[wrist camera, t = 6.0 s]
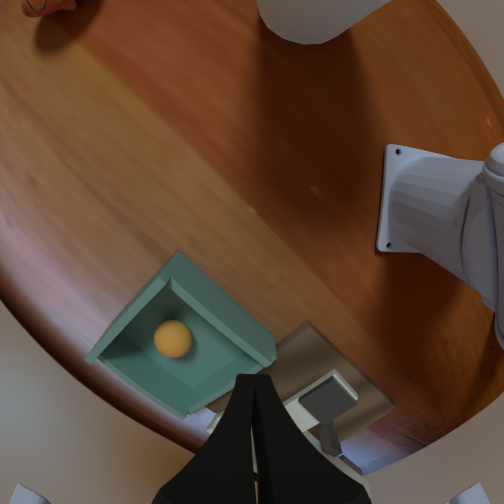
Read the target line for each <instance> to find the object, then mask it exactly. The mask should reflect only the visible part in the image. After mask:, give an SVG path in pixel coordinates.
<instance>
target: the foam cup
mask: <svg viewBox="0 0 504 504" xmlns="http://www.w3.org/2000/svg"><path fill="white" fill-rule="evenodd" d="M389 1H391V0H256V2H257V6H258V11H259V12H260V16H261V18H262V19H263V21H264V23H265V24H266V26H267V28H268V29H270V30H271V31H273V32H274V33H276V34H277V35H279V36H280V37H281V38H283V39H285V40H289V41H293V42H296V43H299V44H303V45H305V44H323V43H325V42H327V41H329V40H331V39H333V38H335V37H337V36H338V35H340V34H341V33H343V32H344V31H346V30H347V29H348V28H350V27H351V26H353V25H354V24H355V23H357V22H358V21H360V20H361V19H363V18H364V17H366V16H367V15H369V14H370V13H372V12H373V11H375V10H376V9H378V8H380V7H381V6H383V5H384V4H386V3H388V2H389Z"/></svg>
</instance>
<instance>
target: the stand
mask: <svg viewBox="0 0 504 504" xmlns="http://www.w3.org/2000/svg"><path fill="white" fill-rule="evenodd" d="M275 348H276V355H277V359H276V360H275V361H273V362H272V364H271V365H269V366H268V367H264V368H263V369H262V370H260V371H259V372H257V373H256V374H269V375H270V376H271V379H272V382H273V384H274V387H275V389H276V391H277V393H278V395H279V397H280V399H281V401H282V402H284V401H286V400H287V399H289V398H291V397H292V396H294V395H295V394H297V393H299V392H300V391H302V390H303V389H305V388H306V387H308V386H309V385H311V384H312V383H314V382H315V381H317V380H318V379H320V378H321V377H323V376H324V375H326V374H327V373H329V372H330V371H331V370H333V369H335V370H336V371H337V372H338V373H339V374H340V375H341V376H342V377H343V378H344V380H345V381H346V382H347V383H348V384H349V385H350V386H351V387H352V388H353V389H354V391H355V392H356V393H357V395H358V399H357V400H356V403H357V405H356V406H354V407H353V408H351V409H350V410H348V411H346V412H345V413H343V414H342V415H340V416H338V417H337V418H335V419H333V420H332V421H330V422H328V423H327V424H325V425H322V424H321V423H319V424H317V425H315V426H313V427H311V428H310V429H308V430H307V431H308V432H309V433H311V434H312V435H313V436H314V437H315V438H316V439H317V440H318V441H320V442H321V443H322V446H323V451H324V453H326V454H328V455H331V456H333V457H336V456H338V455H339V454H341V453H342V450H341V446H340V442H341V441H343V440H345V439H347V438H349V437H350V436H352V435H354V434H356V433H357V432H359V431H361V430H362V429H364V428H366V427H367V426H369V425H370V424H372V423H374V422H375V421H377V420H378V419H380V418H381V417H383V416H384V415H386V414H387V413H389V412H390V411H392V410H393V409H395V408H396V405H395V403H394V401H393V400H392V399H390V398H389V397H388V396H387V395H386V394H385V393H384V392H383V391H382V390H381V389H380V388H379V387H378V386H377V385H376V384H374V383H373V382H372V381H371V380H370V379H369V378H368V377H367V376H366V375H365V374H364V373H363V372H362V371H361V370H360V369H359V368H357V367H356V366H355V365H354V364H353V363H352V362H351V361H350V360H349V359H348V358H347V357H346V356H345V355H344V354H343V353H342V352H341V351H339V350H338V349H337V348H336V347H335V346H334V345H333V344H332V343H331V342H330V341H329V340H328V339H327V338H326V337H325V336H324V335H323V334H322V333H321V332H320V331H318V330H317V329H316V328H315V327H314V326H313V325H312V324H311V323H310V322H309V321H306V322H305V323H304V324H303V325H301V326H300V327H299V328H297V329H296V330H295V331H294V332H292V333H291V334H290V335H288V336H287V337H286V338H284V339H283V340H282V341H280V342H279V343H278V344H276V345H275ZM233 389H234V388H233ZM233 389H231V390H230V391H228V392H226V393H225V394H223V395H222V396H220V397H218V398H217V399H215V400H213V401H212V402H210V403H208V404H207V405H205V407H206V408H208V409H210V410H211V411H213V412H215V413H216V414H219V413H221V412H222V411H224V410H225V409H226V406H227V404H228V402H229V399H230V397H231V394H232V392H233Z"/></svg>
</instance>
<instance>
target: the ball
mask: <svg viewBox="0 0 504 504" xmlns="http://www.w3.org/2000/svg"><path fill="white" fill-rule="evenodd" d="M154 344H155V346H156V348H157V350H158V351H159V352H160V353H161V354H162V355H164V356H166V357H169V358H179V357H182V356H184V355H185V354H186V353H187V352H188V351H189V350H190V348H191V346H192V334H191V331H190V330H189V328H188V327H187V326H186V325H185V324H184V323H182V322H180V321H178V320H167V321H164V322H162V323H161V324H160V325H159V326H158V327H157V328H156V330H155V333H154Z"/></svg>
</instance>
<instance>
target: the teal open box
mask: <svg viewBox="0 0 504 504" xmlns="http://www.w3.org/2000/svg"><path fill="white" fill-rule="evenodd" d="M167 320H178V321H180V322H182V323H184V324H185V325H186V326H187V327H188V328H189V330H190V331H191V334H192V346H191V348H190V350H189V351H188V352H187V353H186V354H185V355H184V356H182V357H179V358H169V357H166V356H164V355H162V354H161V353H160V352H159V351H158V350H157V348H156V346H155V344H154V333H155V330H156V328H157V327H158V326H159V325H160V324H161V323H162V322H164V321H167ZM96 358H98V359H99V360H100V361H101V362H102V363H103V364H105V365H106V366H107V367H108V368H110V369H111V370H112V371H113V372H115V373H116V374H117V375H118V376H120V377H121V378H122V379H123V380H125V381H126V382H127V383H129V384H130V385H131V386H133V387H134V388H135V389H137V390H138V391H140V392H141V393H142V394H144V395H145V396H147V397H148V398H150V399H151V400H152V401H154V402H155V403H157V404H158V405H160V406H161V407H163V408H164V409H166V410H168V411H169V412H171V413H172V414H174V415H175V416H177V417H179V418H180V419H184V418H186V416H187V414H189V415H190V414H191V413H193V412H195V411H197V410H198V409H200V408H202V407H203V406H205V405H207V404H208V403H210V402H212V401H213V400H215V399H217V398H218V397H220V396H222V395H223V394H225V393H226V392H228V391H230V390H231V389H233V388H234V385H235V381H236V375H238V374H256V373H257V372H259V371H260V370H262V369H263V368H264V367H268V366H269V365H271V364H272V362H273V361H275V360H276V359H277V355H276V348H275V340H274V335H273V334H271V333H270V332H269V331H268V330H267V329H266V328H264V327H263V326H262V325H261V324H260V323H259V322H258V321H256V320H255V319H254V318H253V317H252V316H251V315H250V314H248V313H247V312H246V311H245V310H244V309H243V308H242V307H241V306H239V305H238V304H237V303H236V302H235V301H234V300H233V299H232V298H230V297H229V296H228V295H227V294H226V293H225V292H224V291H223V290H222V289H221V288H219V287H218V286H217V285H216V284H215V283H214V282H213V281H212V280H211V279H210V278H209V277H208V276H206V275H205V274H204V273H203V272H202V271H201V270H200V269H199V268H198V267H197V266H196V265H195V264H194V263H193V262H191V261H190V260H189V259H188V258H187V257H186V256H185V255H184V254H183V253H182V252H181V251H180V250H179V249H178V250H177V251H176V252H175V253H174V254H173V256H172V257H171V258H170V259H169V260H168V261H167V262H166V263H165V264H164V265H163V266H162V267H161V268H160V269H159V270H158V271H157V273H156V274H155V275H154V276H153V277H152V278H151V279H150V280H149V281H148V282H147V283H146V284H145V286H144V287H143V288H142V289H141V290H140V291H139V292H138V293H137V294H136V295H135V297H134V298H133V299H132V300H131V301H130V302H129V303H128V304H127V306H126V307H125V308H124V309H123V310H122V311H121V312H120V313H119V315H118V316H117V317H116V318H115V319H114V320H113V321H112V323H111V324H110V325H109V326H108V328H107V329H106V330H105V332H104V333H103V334H102V336H101V337H100V338H99V340H98V341H97V343H96V344H95V345H94V347H93V348H92V350H91V351H90V352H89V354H88V355H87V357H86V358H85V360H86V361H87V362H88V363H89V364H92V362H93V361H94V360H95V359H96Z"/></svg>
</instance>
